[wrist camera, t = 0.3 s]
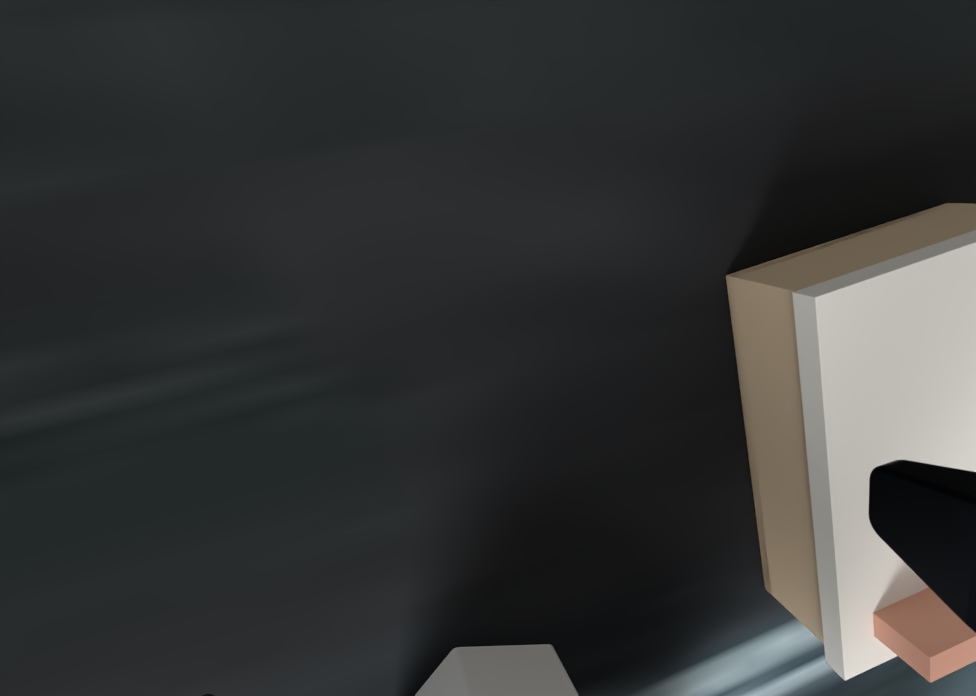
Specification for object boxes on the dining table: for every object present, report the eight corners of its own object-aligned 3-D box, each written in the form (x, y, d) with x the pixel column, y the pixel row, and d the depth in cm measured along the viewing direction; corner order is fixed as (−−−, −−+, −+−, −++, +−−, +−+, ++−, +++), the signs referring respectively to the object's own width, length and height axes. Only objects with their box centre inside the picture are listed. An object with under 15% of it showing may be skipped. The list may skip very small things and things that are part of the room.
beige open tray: (948, 509, 31) (1033, 554, 27) (764, 588, 29) (829, 647, 25) (946, 202, 26) (1050, 205, 22) (725, 275, 24) (798, 292, 20)
